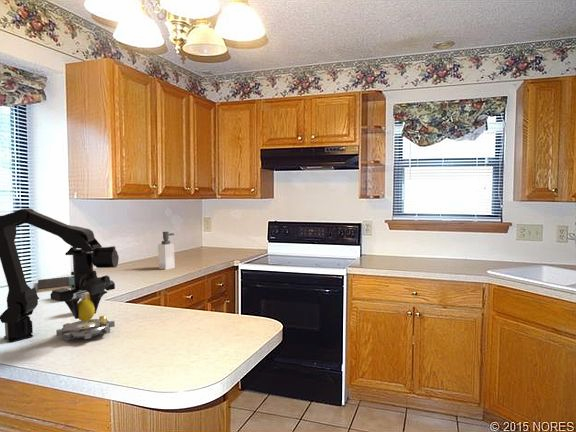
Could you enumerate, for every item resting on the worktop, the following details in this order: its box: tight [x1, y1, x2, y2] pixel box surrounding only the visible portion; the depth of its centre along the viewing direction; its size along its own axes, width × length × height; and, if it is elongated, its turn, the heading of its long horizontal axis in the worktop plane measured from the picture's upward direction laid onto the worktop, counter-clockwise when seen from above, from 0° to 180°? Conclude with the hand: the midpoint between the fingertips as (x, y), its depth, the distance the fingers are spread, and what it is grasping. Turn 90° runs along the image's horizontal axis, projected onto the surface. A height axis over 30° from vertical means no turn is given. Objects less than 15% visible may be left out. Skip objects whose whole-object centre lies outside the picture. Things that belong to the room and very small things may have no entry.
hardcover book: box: [36, 275, 72, 293], centre depth 203 cm, size 16×23×2 cm
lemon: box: [78, 298, 96, 322], centre depth 131 cm, size 6×6×8 cm
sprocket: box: [55, 315, 116, 341], centre depth 131 cm, size 17×17×4 cm
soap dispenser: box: [157, 231, 176, 270], centre depth 244 cm, size 6×9×22 cm
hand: (85, 316), depth 131 cm, fingers open, 6 cm apart
